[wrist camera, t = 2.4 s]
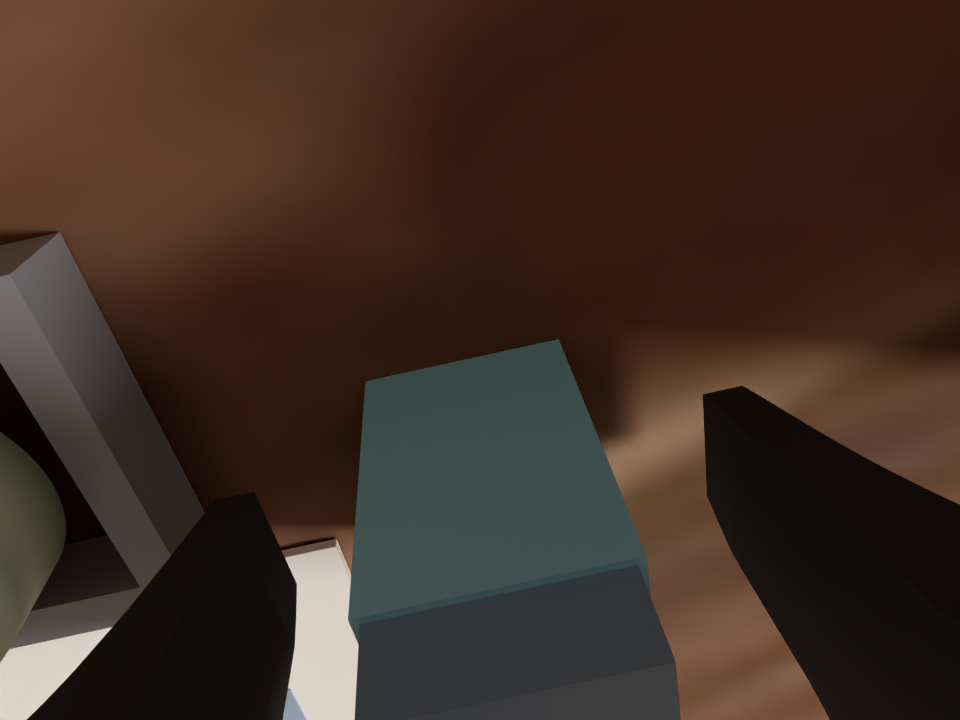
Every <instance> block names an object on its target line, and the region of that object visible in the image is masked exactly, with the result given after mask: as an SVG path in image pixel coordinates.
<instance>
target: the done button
mask: <svg viewBox="0 0 960 720" xmlns="http://www.w3.org/2000/svg"><path fill="white" fill-rule="evenodd" d="M65 539H66V519H65V514H64V509H63V506H62V503H61V500H60V498H59V495H58V493H57V491H56V490H55V488H54V486H53V484H52V482H51V481H50V479H49V478H48V477H47V475H46V474H45V472H44V471H43V470H42V468H41V467H40V466H39V465H38V464H37V463H36V462H35V461H34V460H33V459H32V458H31V457H30V455H29V454H28V453H26V452H25V451H24V450H23V449H22V448H21V447H19V446H18V445H17V444H16V443H15V442H13V441H12V440H11V439H9V438H8V437H6V436H5V435H3V434H2V433H1V432H0V662H1V661H2V660H3V658H4V657H5V655H6V654H7V652H8V651H9V649H10V647H11V646H12V644H13V642H14V640H15V638H16V637H17V635H18V633H19V631H20V629H21V627H22V626H23V624H24V622H25V620H26V618H27V617H28V615H29V613H30V611H31V609H32V608H33V606H34V604H35V602H36V600H37V599H38V597H39V595H40V593H41V591H42V589H43V588H44V586H45V584H46V582H47V580H48V579H49V577H50V575H51V573H52V571H53V570H54V568H55V566H56V564H57V562H58V560H59V558H60V556H61V553H62V551H63V549H64V544H65Z"/></svg>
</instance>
